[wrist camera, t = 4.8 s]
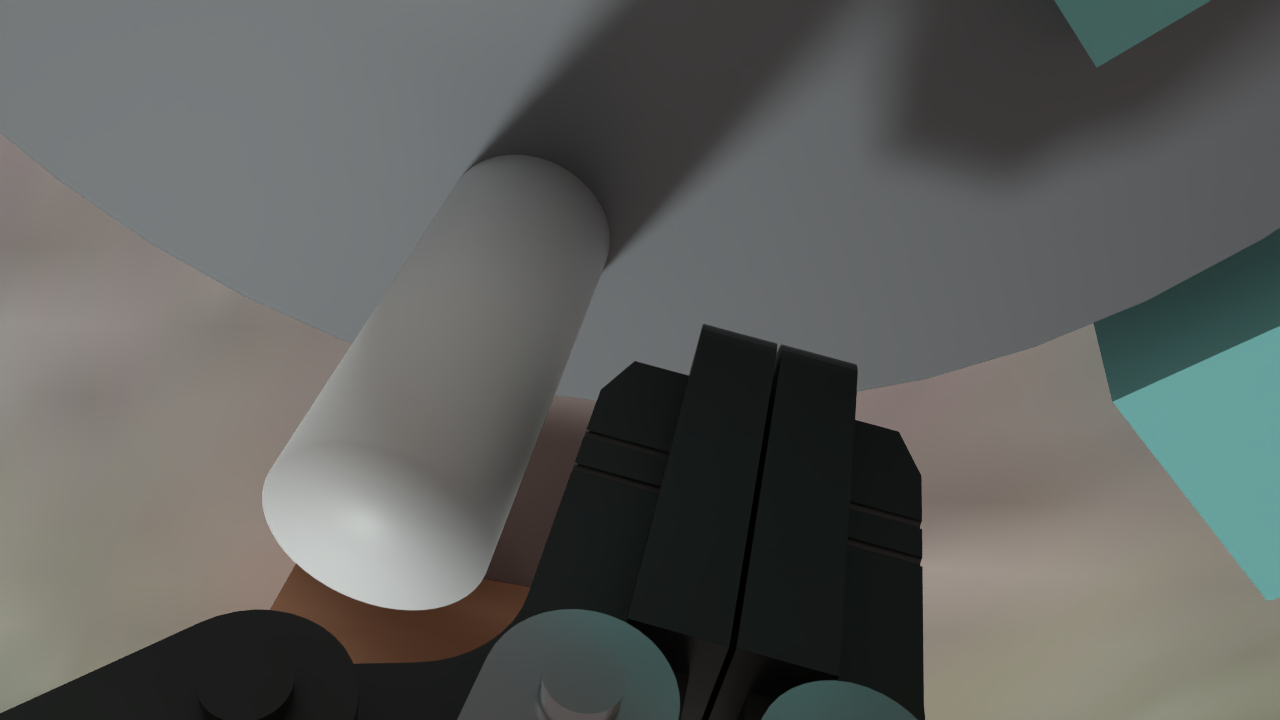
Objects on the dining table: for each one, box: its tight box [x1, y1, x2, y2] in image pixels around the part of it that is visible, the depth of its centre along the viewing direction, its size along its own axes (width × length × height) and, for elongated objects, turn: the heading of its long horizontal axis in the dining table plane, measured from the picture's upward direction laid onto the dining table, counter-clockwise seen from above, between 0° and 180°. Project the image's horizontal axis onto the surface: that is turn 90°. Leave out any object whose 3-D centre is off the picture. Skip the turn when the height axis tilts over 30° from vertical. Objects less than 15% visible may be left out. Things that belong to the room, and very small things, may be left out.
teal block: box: [1094, 228, 1280, 601], centre depth 14 cm, size 4×2×2 cm, turn 42°
